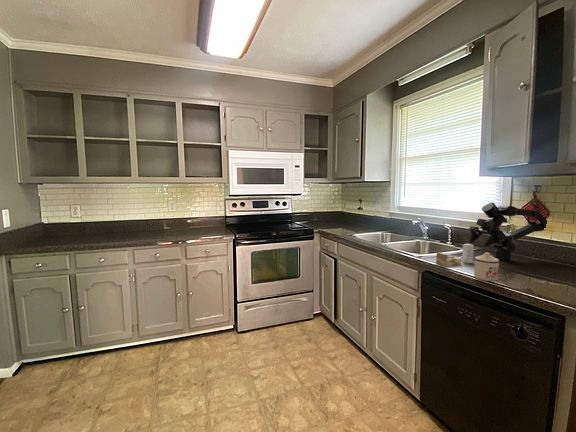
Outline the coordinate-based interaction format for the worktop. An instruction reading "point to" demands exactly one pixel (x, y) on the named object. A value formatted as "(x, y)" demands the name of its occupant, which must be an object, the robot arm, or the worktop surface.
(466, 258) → the white rectangular block
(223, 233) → the worktop surface
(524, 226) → the robot arm
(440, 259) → the sleeve
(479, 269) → the teacup with lid
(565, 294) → the worktop surface
